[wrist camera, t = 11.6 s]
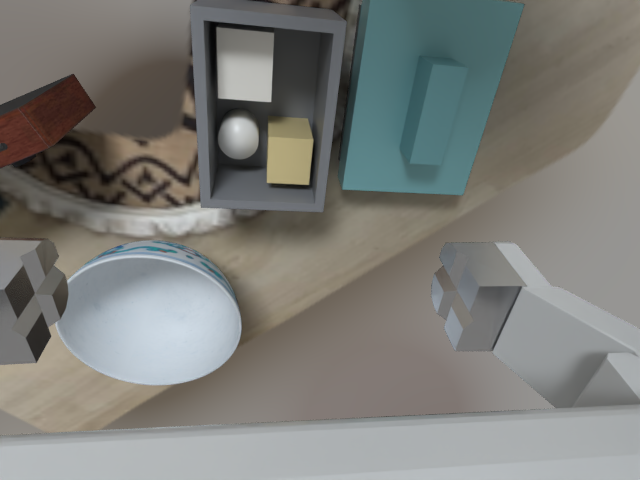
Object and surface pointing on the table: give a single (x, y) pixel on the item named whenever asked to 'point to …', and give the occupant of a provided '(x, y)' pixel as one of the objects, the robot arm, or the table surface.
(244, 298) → the table surface
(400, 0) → the lid
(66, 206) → the table surface
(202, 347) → the chinaware
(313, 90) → the storage box
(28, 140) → the radio
